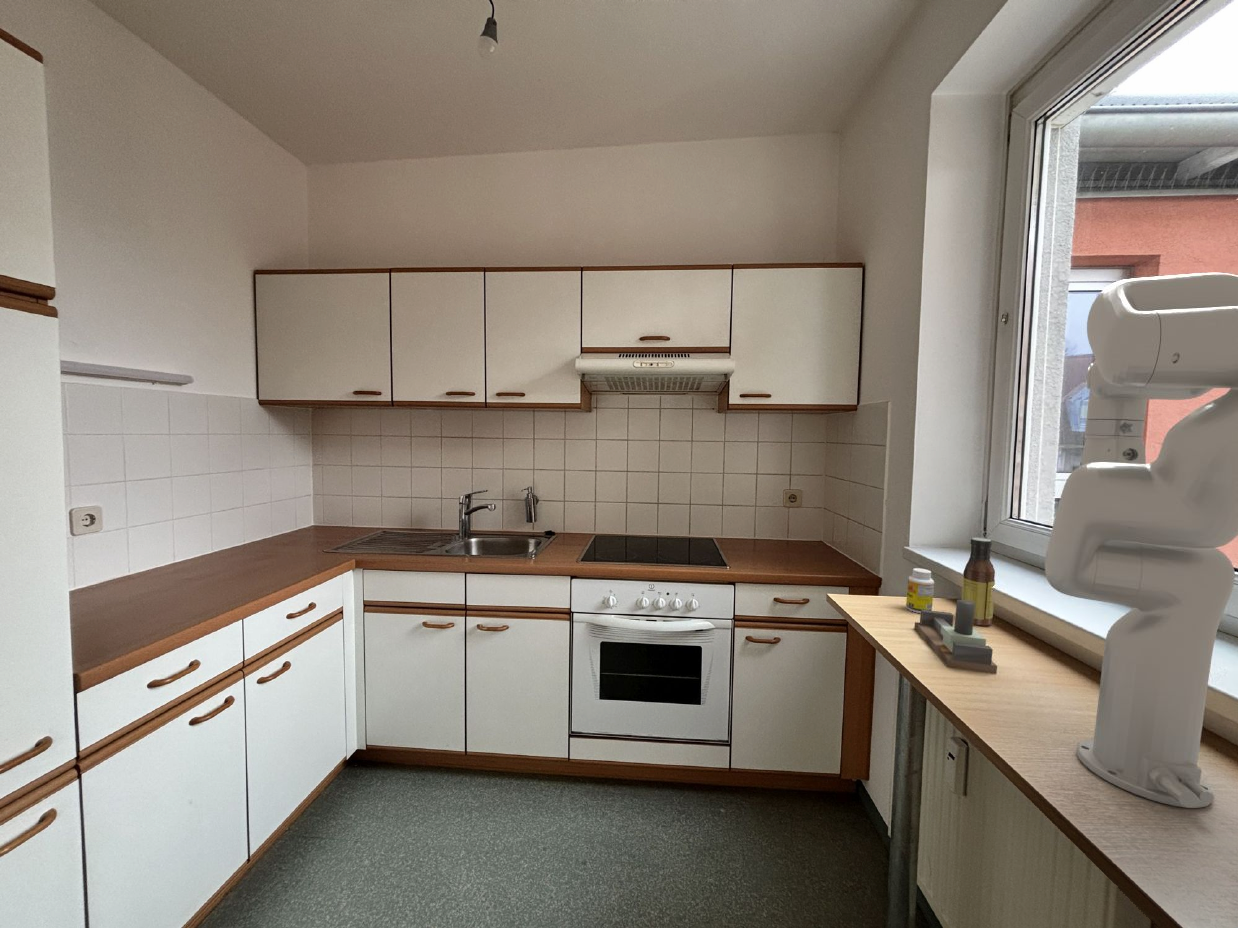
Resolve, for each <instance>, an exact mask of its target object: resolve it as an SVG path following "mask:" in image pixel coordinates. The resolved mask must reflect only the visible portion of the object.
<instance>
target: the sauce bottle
mask: <svg viewBox="0 0 1238 928" xmlns="http://www.w3.org/2000/svg"><path fill="white" fill-rule="evenodd" d="M992 541H993V540H992V539H989V538H985V537H971V538H970V545H971V546H970V554H969V555H970V556H969V558H968V561H967V563H966V564H965V567H964V570H963V573H962V574H963V575H962V590H961V591H962V592H961V600H967V601H971V602H974V603H975V613H974V623H973V625H975V626H983V627H985V626H990V625H992V623H993V620H992V619H993V615H994V603H993V602H992V595H991V587H993V586H994V585H995V583H996V580H995V576H996V571H995V567H994V565H993V562H992V561H991V547H992V545H993V543H992Z"/></svg>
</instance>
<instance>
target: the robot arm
mask: <svg viewBox="0 0 1238 928" xmlns="http://www.w3.org/2000/svg"><path fill="white" fill-rule="evenodd" d="M1086 334H1087V341H1088V344H1089V346H1090V349H1091V351H1092V353H1093V354H1092V355H1093V356H1094V359H1095V360H1093V362H1092V363H1091V364H1089V365H1088V368H1087V374H1086V376H1085V380H1086V382H1085V383H1086V388H1087V389H1089V394H1088V395H1089V396H1088V403H1087V412H1086V421H1085V427H1084V428H1085V429H1084V439H1085V441H1084V445H1083V450H1082V452H1081V453H1082V454H1081V456H1080V457H1081V458H1080V465H1079V467H1077V468H1075V469H1074V470H1073V471H1071V473H1070V475H1069V476H1068V477H1067V479H1066V480H1065V484H1064V485H1063V489H1062V491H1061V495H1060V498H1059V502H1058V506H1057V509H1056V513H1055V518H1054V521H1053V524H1052V530H1051V533H1050V537H1049V541H1048V544H1047V548H1046V553H1045V558H1044V573H1045V577H1046V578H1045V579H1046V580H1047V582H1048V584H1049V585H1050V587H1052V588H1053V589H1054V590H1056V591H1057V592H1059V593H1060V594H1063V595H1065V596H1069V597H1074V598H1079V599H1084V600H1090V601H1096V602H1097V601H1098V602H1104V603H1110V604H1115V605H1121V606H1126V607H1129V608H1132V609H1131V610H1129V611H1128V612H1126V613H1125V614H1123V616H1120V618H1119V619H1117V620H1116V621H1115V622H1114V623H1113V624H1112V625H1111V626H1110V628H1109V630H1107V633H1106V636H1105V641H1104V642H1105V643H1104V649H1103V650H1104V651H1103V657H1102V664H1101V665H1102V667H1101V675H1100V684H1099V691H1098V701H1097V702H1098V703H1097V709H1096V717H1095V727H1094V734H1093V738H1086V739H1083V740H1080V741H1079V742H1078V743H1077V745H1076V746H1077V747H1076V755H1077V757H1078V760H1080V761H1081V763H1082V764H1083V765H1084V766H1085V767H1086V768H1087V769H1089V770H1090V771H1091V772H1092V773H1094V774H1095V775H1097V776H1098V777H1101V778H1102V779H1104V780H1105V781H1106V782H1108V783H1111V784H1112V785H1115V786H1116V787H1119V788H1121V789H1123V790H1125V791H1127V792H1130V793H1132V794H1134V795H1136V796H1139V797H1143V798H1145V799H1148V800H1151V801H1155V802H1158V803H1160V804H1166V805H1169V806H1173V807H1178V808H1179V807H1180V808H1187V809H1199V808H1204V807H1207V806H1209V805H1210V804H1211V803H1213V802H1214V800H1215V798H1214V797H1215V796H1214V795H1213V789H1212V788H1211V786H1210V785H1209V784H1208V783H1207V782H1206V781H1205V780H1204V779H1203V778H1202V768H1201V767H1199V766H1198V760H1199V759H1198V758H1199V752H1200V745H1201V738H1202V731H1203V723H1204V715H1205V708H1206V699H1207V694H1208V685H1209V677H1210V671H1211V665H1212V658H1213V651H1214V646H1215V642H1216V636H1217V632H1218V629H1219V626H1220V622H1221V619H1222V617H1223V615H1224V612H1225V609H1226V607H1227V605H1228V602H1229V600H1230V597H1231V595H1232V593H1233V589H1234V585H1235V578H1236V575H1235V573H1236V572H1235V569H1234V565H1233V563H1232V561H1231V560H1230V558H1229V557H1228V556H1227V555H1226V554H1225V552H1223V551H1222V550H1220V549H1219V547H1223V546H1224V547H1225V546H1226V545H1227V544H1229V543H1232V542H1233V541H1234V540H1235V538H1236V537H1238V275H1236V274H1232V273H1231V274H1230V273H1224V272H1223V273H1222V272H1206V273H1205V272H1202V273H1189V274H1176V275H1163V276H1160V275H1159V276H1149V277H1137V278H1129V279H1127V278H1126V279H1121V280H1118V281H1116V282H1113V283H1112V284H1109V285H1108V286H1106V287H1105V288H1104V289H1103V290H1102V291H1100V292H1099V294H1098V295H1097V297H1095V299H1094V300H1093V303H1092V304H1091V306H1090V309H1089V312H1088V315H1087V322H1086ZM1214 389H1229V390H1227V392H1226V393H1224V394H1222V395H1221V396H1219V397H1218V398H1215V399H1214V400H1212V401H1209V402H1207V403H1206V404H1204V405H1202V406H1199V408H1196V409H1195V410H1193V411H1192V412H1190V413H1189V414H1188V415H1186V416H1185V417H1183V418H1181V420H1179V421H1178V422H1176V424H1174V425H1173V426H1172V427H1171V428H1170V429H1169V430H1168V431H1167V433H1166V434H1165V436H1164V438H1163V442H1162V445H1161V448H1160V450H1159V453H1158V456H1157V458H1156V460H1154V461H1152V462H1150V463H1149V462H1148V463H1147V462H1146V461H1147V459H1146V457H1147V456H1146V455H1147V454H1146V447H1145V441H1144V439H1143V438H1144V431H1145V429H1144V428H1145V424H1146V421H1145V420H1146V413H1147V406H1148V405H1147V404H1148V400H1163V401H1164V400H1168V401H1171V400H1172V401H1174V400H1175V401H1183V400H1184V401H1185V400H1191V399H1196V398H1198V397H1201V396H1203V395H1205V394H1207V393H1209V392H1210V391H1212V390H1214Z"/></svg>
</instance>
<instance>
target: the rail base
mask: <svg viewBox="0 0 1238 928" xmlns="http://www.w3.org/2000/svg"><path fill="white" fill-rule="evenodd" d="M953 624H954V614H953V613H951V612H948V611H947V612H945V611H937V610H932V611H930V610H921V614H920V618H919V622H918V621H916V622H915V621H914V630H915V631H916V632H917V634H919V636H920V637H921V638H922V640H923V641H925V643H926V644H928V645H927V646H929V647H930V648H931V649H932V651H933V652H934V653H935V654H936V655H937V656H938V658H939V659H940V660H941V661H942V662H943V663H944V664H945V666H947V668H950V669H956V670H966V671H972V672H974V671H975V672H980V673H985V674H986V673H989V674H997V673H998V672H997V670H998V665H997V664H996V663H995V662H994V661H992V658H993V648H992V647H991V646H990V645H986V646H984V645H976V644H967V643H959V642H953V650H952V652H951V651H950V650H949V649H948V648H947V647H946V646H945V645H944V644H943V635H942V634H941V626H949V627H954V625H953Z"/></svg>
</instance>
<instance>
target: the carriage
mask: <svg viewBox="0 0 1238 928" xmlns="http://www.w3.org/2000/svg"><path fill="white" fill-rule="evenodd" d="M955 607H956V608H955V615H954V617H955V618H954V625H953V627H949V626H941V634H942V635H943V644H944V645H945V646H946V647H947V648H948V649H949V650H950V651H951V652H952V650H953V642H959V643H967V644H976V645H984V646H987V645H986V643H987V638H986V637H984V636H983V635H982V634H981V633H980V632H978V631H977V630H976V629H974V624H973V623H974V613H975V603H974V602H971V601H967V600H962V599H957V600H956V606H955Z"/></svg>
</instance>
